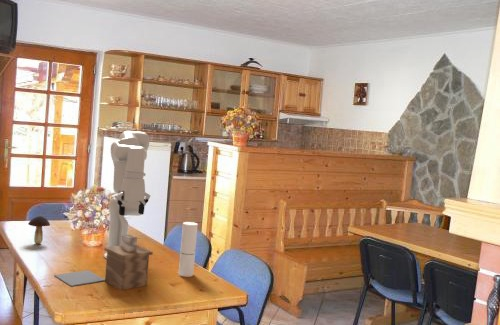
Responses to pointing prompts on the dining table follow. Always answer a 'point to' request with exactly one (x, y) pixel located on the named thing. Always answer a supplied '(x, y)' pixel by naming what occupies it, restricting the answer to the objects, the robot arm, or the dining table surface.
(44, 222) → the decorative mushroom
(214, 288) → the dining table surface
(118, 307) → the dining table surface
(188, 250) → the cylindrical container
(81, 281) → the mat
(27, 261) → the dining table surface
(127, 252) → the lid
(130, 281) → the box
